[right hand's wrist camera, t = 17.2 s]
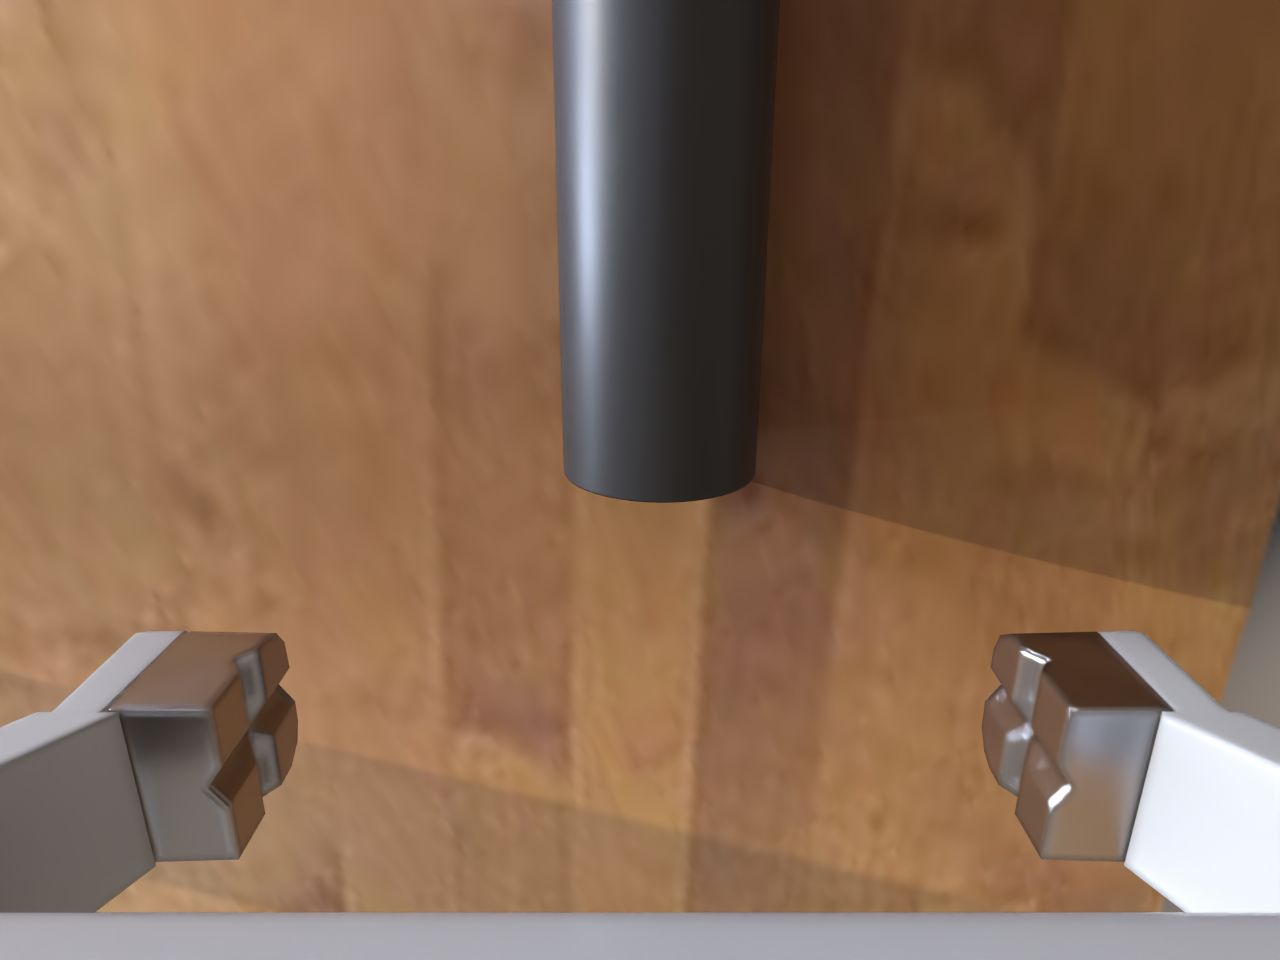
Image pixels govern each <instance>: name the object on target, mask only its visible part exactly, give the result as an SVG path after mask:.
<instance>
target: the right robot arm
mask: <svg viewBox="0 0 1280 960" xmlns="http://www.w3.org/2000/svg"><path fill="white" fill-rule="evenodd" d="M288 669H289V663H288V658H287V653H286V648H285V643H284V641H283V640H282V639H281V638H280V637H279V636H278V635H277V633H243V632H186V631H149V632H141V633H135V634H134V635H133V636H132V637H131V638H130V639H129V640H128V641H127V642H126V643H125V644H124V645H123V646H122V647H121V648H119V649H118V650H117V651H116V652H115V653H114V654H113V655H112V656H111V657H110V658H109V659H108V660H107V661H106V662H105V663H103V664H102V665H101V666H100V667H99V668H98V669H97V670H96V671H95V672H94V673H93V674H92V675H91V676H90V677H89V678H87V679H86V680H85V681H84V682H83V683H82V684H81V685H80V686H79V687H78V688H77V689H76V690H75V691H74V692H73V693H71V694H70V695H69V696H68V697H67V698H66V699H65V700H64V701H63V702H62V703H61V704H60V705H59V706H58V707H57V708H55V709H54V710H53V711H52V712H36V713H33V714H31V715H29V716H26V717H24V718H21V719H19V720H17V721H14V722H12V723H10V724H7V725H5V726H2V727H0V960H1280V727H1277V726H1275V725H1273V724H1270V723H1268V722H1266V721H1263V720H1261V719H1259V718H1256V717H1254V716H1251V715H1249V714H1247V713H1244V712H1228V711H1227V710H1226V709H1225V708H1224V707H1222V706H1221V705H1220V704H1219V703H1218V702H1217V701H1216V700H1215V699H1214V698H1213V697H1212V696H1211V695H1210V694H1209V693H1208V692H1207V691H1205V690H1204V689H1203V688H1202V687H1201V686H1200V685H1199V684H1198V683H1197V682H1196V681H1195V680H1194V679H1193V678H1192V677H1191V676H1190V675H1188V674H1187V673H1186V672H1185V671H1184V670H1183V669H1182V668H1181V667H1180V666H1179V665H1178V664H1177V663H1176V662H1175V661H1174V660H1173V659H1171V658H1170V657H1169V656H1168V655H1167V654H1166V653H1165V652H1164V651H1163V650H1162V649H1161V648H1160V647H1159V646H1158V645H1157V644H1155V643H1154V642H1153V641H1152V640H1151V639H1150V638H1149V637H1148V636H1147V635H1146V634H1143V633H1140V632H1137V631H1134V630H1131V631H1107V632H1064V633H1023V634H1005V635H1000V636H999V638H998V640H997V643H996V645H995V647H994V651H993V656H992V662H991V669H992V671H993V672H994V674H995V675H996V677H997V678H998V680H999V681H1000V683H1001V685H1000V686H999V687H998V688H997V689H996V690H995V691H994V692H993V693H992V695H991V696H990V697H989V698H988V699H987V700H986V701H985V705H984V713H983V721H982V734H983V744H984V752H985V755H986V758H987V761H988V765H989V768H990V770H991V772H992V774H993V775H994V777H995V779H996V781H997V783H998V785H1000V786H1001V787H1003V788H1004V789H1006V790H1008V791H1009V792H1011V793H1012V794H1014V795H1015V796H1017V797H1018V799H1017V804H1016V810H1015V815H1016V816H1017V818H1018V820H1019V822H1020V823H1021V825H1022V827H1023V828H1024V830H1025V832H1026V834H1027V835H1028V837H1029V839H1030V841H1031V842H1032V844H1033V846H1034V847H1035V849H1036V851H1037V853H1038V854H1039V856H1040V858H1041V859H1042V860H1079V861H1115V862H1125V864H1124V866H1126V867H1127V868H1128V869H1129V870H1131V871H1132V872H1133V873H1135V874H1136V875H1137V876H1139V877H1140V878H1141V879H1143V880H1144V881H1145V882H1146V883H1148V884H1149V885H1150V886H1152V887H1153V888H1154V889H1156V890H1157V891H1158V892H1160V893H1161V894H1162V895H1163V896H1165V897H1166V898H1167V899H1169V900H1170V901H1171V902H1173V903H1174V904H1175V905H1176V906H1178V907H1179V908H1180V909H1182V910H1183V911H1184V912H1186V913H95V912H96V911H97V910H99V909H100V908H101V907H102V906H104V905H105V904H106V903H108V902H109V901H110V900H112V899H113V898H114V897H116V896H117V895H118V894H119V893H121V892H122V891H123V890H125V889H126V888H127V887H129V886H130V885H131V884H133V883H134V882H135V881H137V880H138V879H139V878H140V877H142V876H143V875H144V874H146V873H147V872H148V871H150V870H151V869H152V868H154V867H155V865H156V864H155V862H165V861H200V860H235V859H239V858H240V856H241V855H242V853H243V851H244V849H245V848H246V846H247V844H248V842H249V841H250V839H251V837H252V835H253V834H254V832H255V830H256V829H257V827H258V825H259V823H260V822H261V820H262V818H263V816H264V815H265V810H264V804H263V799H262V797H263V796H265V795H266V794H268V793H269V792H271V791H272V790H274V789H276V788H277V787H279V786H280V785H282V783H283V781H284V779H285V777H286V775H287V773H288V772H289V770H290V768H291V766H292V762H293V757H294V753H295V749H296V745H297V736H298V718H297V712H296V705H295V701H294V700H293V699H292V698H291V697H290V696H289V695H288V693H287V692H286V691H285V690H284V689H283V688H282V687H281V686H280V685H279V683H280V681H281V680H282V678H283V677H284V675H285V674H286V672H287V671H288Z"/></svg>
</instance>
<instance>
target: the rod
mask: <svg viewBox="0 0 1280 960" xmlns="http://www.w3.org/2000/svg"><path fill="white" fill-rule="evenodd" d="M779 5H780V0H552V17H553V57H554V97H555V137H556V177H557V217H558V257H559V297H560V337H561V378H562V418H563V458H564V472H565V475H566V477H567V478H568V480H570V481H571V482H572V483H573V484H575V485H576V486H578V487H580V488H582V489H584V490H586V491H589V492H592V493H595V494H598V495H602V496H606V497H611V498H616V499H622V500H629V501H639V502H657V503H668V502H687V501H697V500H703V499H710V498H714V497H719V496H723V495H726V494H729V493H732V492H735V491H737V490H739V489H741V488H743V487H745V486H746V485H747V484H749V483H750V482H751V480H752V479H753V478H754V475H755V469H756V450H757V431H758V411H759V392H760V373H761V353H762V334H763V315H764V295H765V276H766V257H767V237H768V218H769V199H770V179H771V160H772V141H773V121H774V102H775V83H776V63H777V44H778V25H779Z"/></svg>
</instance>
